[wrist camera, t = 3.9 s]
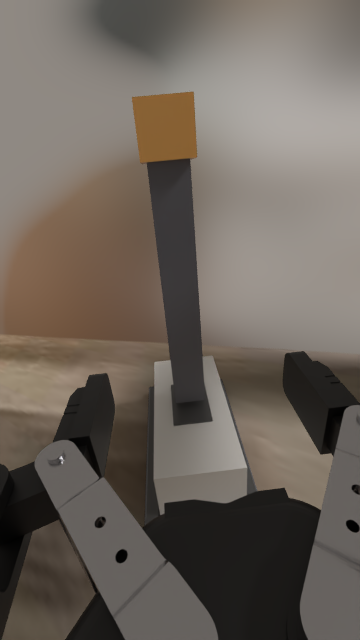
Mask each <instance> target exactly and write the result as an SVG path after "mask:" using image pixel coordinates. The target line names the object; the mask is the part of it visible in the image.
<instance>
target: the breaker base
mask: <svg viewBox="0 0 360 640" xmlns="http://www.w3.org/2000/svg"><path fill="white" fill-rule="evenodd" d="M203 373H204V388H205V400H200V401H192V402H183V403H176V401H175V393H174V385H173V377H172V368H171V360H168V361H159V362H155V366H154V387H150V388H149V406H148V436H147V467H146V498H145V525H146V524H147V523H149V522H150V521H151V520H153V519H154V518H156V517H158V516H160V515H162V514H164V503H168V502H176V501H184V500H192V499H196V500H203V501H211V502H218V503H229V502H231V501H234V500H236V499H239V498H241V497H243V496H246V495H248V494H251V493H253V492H256V491H257V489H256V485H255V482H254V479H253V476H252V473H251V470H250V467H249V463H248V460H247V457H246V454H245V451H244V448H243V444H242V441H241V438H240V435H239V432H238V429H237V426H236V422H235V419H234V416H233V413H232V410H231V407H230V404H229V400H228V397H227V394H226V391H225V388H224V385H223V381H222V380H221V379H220V378H219V375H218V371H217V368H216V365H215V362H214V358H213V355H212V356H204V357H203Z"/></svg>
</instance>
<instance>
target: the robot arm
mask: <svg viewBox="0 0 360 640" xmlns="http://www.w3.org/2000/svg"><path fill="white" fill-rule="evenodd" d="M283 388H284V391H285V394H286V396H287V398H288V399H289V401H290V403H291V404H292V406H293V408H294V410H295V411H296V413H297V415H298V416H299V418H300V420H301V422H302V423H303V425H304V427H305V429H306V430H307V432H308V434H309V435H310V437H311V439H312V441H313V442H314V444H315V446H316V447H317V449H318V451H319V453H320V454H328V453H332V455H333V462H332V466H331V470H330V475H329V479H328V483H327V488H326V492H325V496H324V501H323V505H322V509H321V510H320V509H318V508H316V507H314V506H312V505H310V504H308V503H305V502H303V501H300V500H296V499H291V498H288V495H287V493H286V490H285V488H280V489H272V490H264V491H256V492H253V493H251V494H248V495H246V496H243V497H241V498H239V499H236V500H234V501H231V502H229V503H218V502H211V501H203V500H196V499H192V500H184V501H176V502H168V503H164V514H162V515H160V516H158V517H156V518H154V519H153V520H151V521H150V522H149V523H147V524H146V525H145V526H144V527H143V528H141V526H140V525H139V524H138V522H137V521H136V520H135V518H134V517H133V516H132V514H131V513H130V512H129V510H128V509H127V508H126V506H125V505H124V503H123V502H122V501H121V499H120V498H119V497H118V495H117V494H116V493H115V491H114V490H113V489H112V487H111V486H110V485H109V483H108V482H107V481H106V479H105V478H104V473H105V467H106V461H107V455H108V449H109V443H110V437H111V432H112V426H113V420H114V414H115V404H114V398H113V394H112V390H111V386H110V382H109V378H108V375H107V373H104V374H95V375H89V377H88V380H87V383H86V386H85V387H82V388H78V389H77V390H76V391H75V392H74V393H73V394H72V395H71V396H70V398H69V401H68V404H67V407H66V409H65V411H64V415H63V417H62V419H61V422H60V425H59V427H58V430H57V433H56V435H55V438H54V440H53V443H51V444H49V445H48V446H46V447H45V448H44V449H43V450H42V451H41V452H40V453H39V454H38V456H37V457H36V460H35V461H34V462H32V463H30V464H28V465H25V466H23V467H20V468H17V469H15V470H12V471H8V469H7V467H6V466H4V465H2V464H0V640H1V639H2V636H3V632H4V629H5V625H6V622H7V619H8V615H9V612H10V608H11V605H12V601H13V598H14V594H15V591H16V587H17V584H18V580H19V577H20V573H21V570H22V566H23V563H24V559H25V556H26V552H27V549H28V545H29V542H30V538H31V535H32V531H34V530H36V529H39V528H41V527H43V526H45V525H47V524H50V523H52V522H54V521H56V520H59V522H60V524H61V526H62V528H63V530H64V532H65V533H66V535H67V537H68V539H69V541H70V543H71V545H72V547H73V549H74V551H75V553H76V555H77V557H78V559H79V561H80V563H81V565H82V568H83V570H84V572H85V574H86V576H87V578H88V580H89V582H90V584H91V586H92V588H93V590H94V592H95V596H94V597H93V599H92V600H91V602H90V603H89V605H88V606H87V608H86V609H85V611H84V612H83V614H82V615H81V617H80V618H79V620H78V621H77V623H76V624H75V626H74V627H73V629H72V630H71V632H70V633H69V635H68V636H67V638H66V639H65V640H360V403H359V402H358V401H357V400H356V399H355V398H354V396H353V395H352V394H351V393H350V392H349V391H348V390H347V388H346V387H345V386H344V385H343V384H342V383H340V380H339V379H338V378H337V377H335V375H334V374H333V372H332V371H331V370H330V369H329V368H328V367H327V366H325V365H323V364H322V363H320V362H318V361H312V360H311V359H310V358H309V357H308V355H307V354H306V353H305V352H304V351H301V352H292V353H286V354H285V359H284V371H283Z"/></svg>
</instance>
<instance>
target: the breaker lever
mask: <svg viewBox="0 0 360 640" xmlns="http://www.w3.org/2000/svg"><path fill="white" fill-rule="evenodd" d="M132 102H133V110H134V117H135V125H136V133H137V140H138V148H139V156H140V163H141V164H147V168H148V177H149V185H150V193H151V202H152V210H153V218H154V227H155V235H156V243H157V252H158V260H159V268H160V276H161V285H162V293H163V302H164V309H165V318H166V327H167V334H168V343H169V352H170V360H171V368H172V377H173V385H174V393H175V401H176V403H183V402H192V401H200V400H205V388H204V373H203V357H202V342H201V325H200V309H199V293H198V278H197V261H196V246H195V230H194V214H193V199H192V182H191V166H190V159H194V158H196V157H197V148H196V127H195V110H194V109H195V108H194V92H185V93H173V94H162V95H151V96H140V97H132Z"/></svg>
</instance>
